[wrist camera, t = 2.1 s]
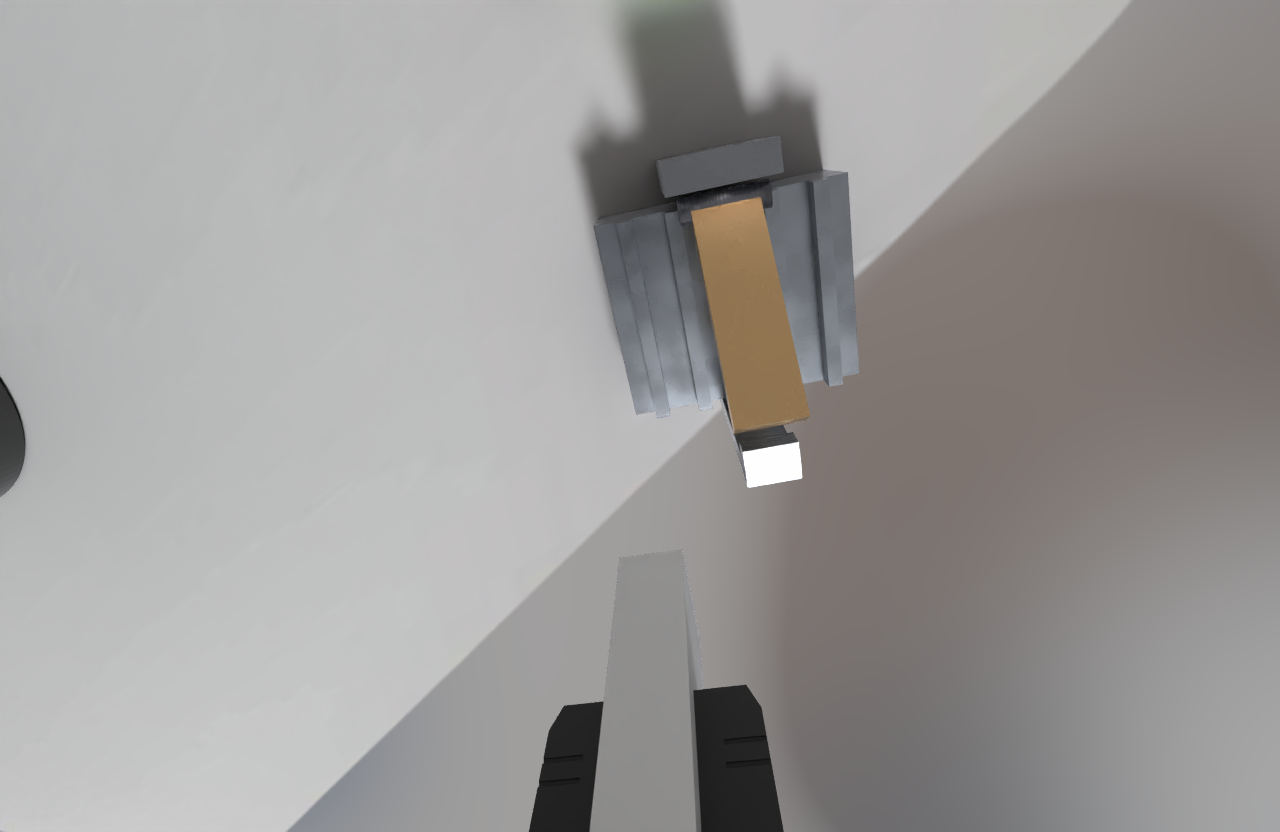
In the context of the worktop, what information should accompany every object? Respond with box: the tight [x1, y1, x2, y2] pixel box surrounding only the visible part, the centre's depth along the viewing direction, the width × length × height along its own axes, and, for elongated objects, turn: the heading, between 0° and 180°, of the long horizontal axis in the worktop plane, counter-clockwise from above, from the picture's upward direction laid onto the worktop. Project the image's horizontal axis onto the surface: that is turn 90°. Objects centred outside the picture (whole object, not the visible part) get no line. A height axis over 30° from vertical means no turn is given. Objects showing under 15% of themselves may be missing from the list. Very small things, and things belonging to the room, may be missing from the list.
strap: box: [676, 179, 810, 434], centre depth 25 cm, size 4×11×1 cm
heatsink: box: [594, 136, 859, 487], centre depth 28 cm, size 12×14×11 cm
